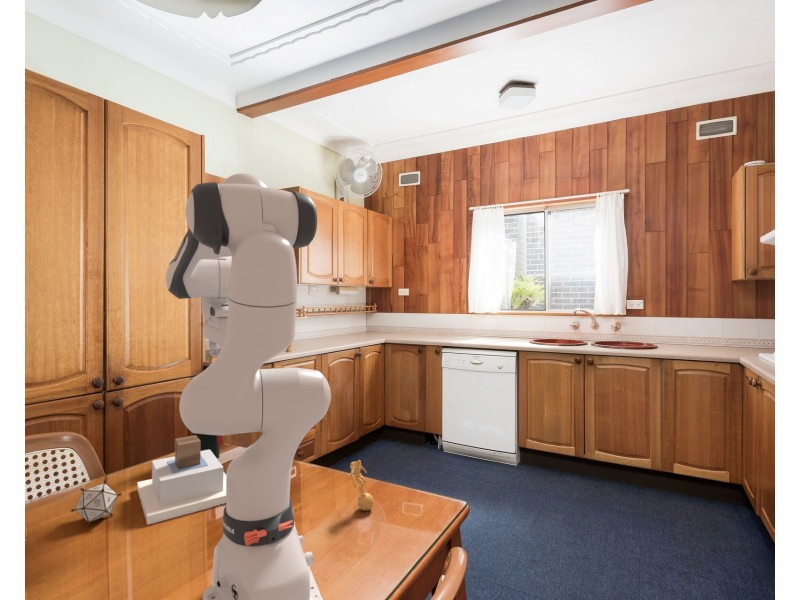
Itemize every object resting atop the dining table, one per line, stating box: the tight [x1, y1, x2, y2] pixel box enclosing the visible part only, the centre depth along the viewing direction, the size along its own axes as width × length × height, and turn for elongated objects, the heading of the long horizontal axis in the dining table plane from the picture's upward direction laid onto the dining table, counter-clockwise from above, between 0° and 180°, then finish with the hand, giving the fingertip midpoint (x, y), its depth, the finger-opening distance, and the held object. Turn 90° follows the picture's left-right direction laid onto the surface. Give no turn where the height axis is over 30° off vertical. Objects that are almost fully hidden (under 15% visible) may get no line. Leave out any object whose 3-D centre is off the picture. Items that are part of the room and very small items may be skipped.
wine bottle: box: [192, 360, 224, 460], centre depth 133 cm, size 8×10×30 cm
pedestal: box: [136, 449, 226, 526], centre depth 111 cm, size 20×20×8 cm
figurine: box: [349, 459, 375, 512], centre depth 106 cm, size 8×6×12 cm
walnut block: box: [174, 435, 201, 469], centre depth 110 cm, size 5×5×6 cm
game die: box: [70, 479, 123, 527], centre depth 99 cm, size 9×8×10 cm
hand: (218, 358), depth 119 cm, fingers open, 8 cm apart
